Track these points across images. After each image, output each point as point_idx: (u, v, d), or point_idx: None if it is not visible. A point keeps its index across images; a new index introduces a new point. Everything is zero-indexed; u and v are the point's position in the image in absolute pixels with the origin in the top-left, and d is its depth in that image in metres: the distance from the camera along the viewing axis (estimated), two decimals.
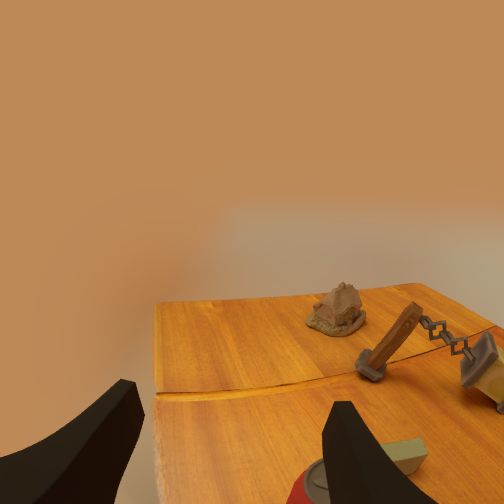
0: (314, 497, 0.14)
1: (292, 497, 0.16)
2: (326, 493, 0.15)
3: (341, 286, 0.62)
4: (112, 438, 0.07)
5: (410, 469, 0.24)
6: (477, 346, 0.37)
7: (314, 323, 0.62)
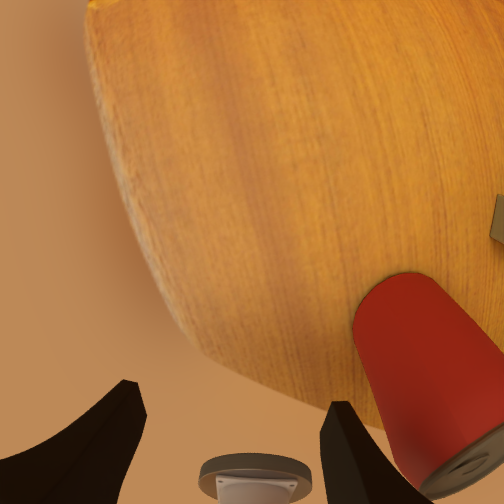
0: (425, 494, 0.06)
1: (401, 447, 0.08)
2: (448, 479, 0.06)
3: None
4: (115, 439, 0.07)
5: None
6: None
7: None
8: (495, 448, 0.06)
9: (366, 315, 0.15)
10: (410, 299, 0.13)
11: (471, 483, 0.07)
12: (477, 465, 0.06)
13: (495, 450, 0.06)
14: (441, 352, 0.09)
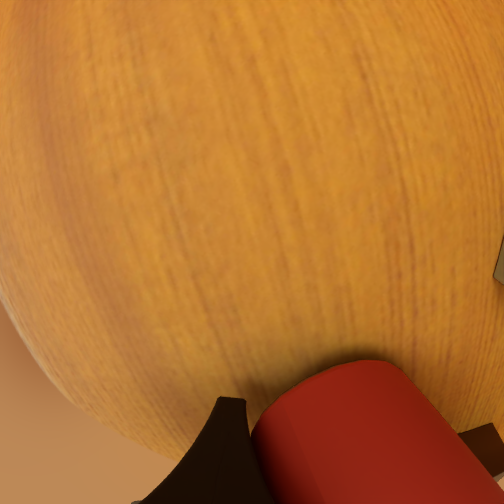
0: None
1: None
2: None
3: None
4: None
5: None
6: None
7: None
8: None
9: (266, 452, 0.07)
10: (351, 445, 0.06)
11: None
12: None
13: None
14: None
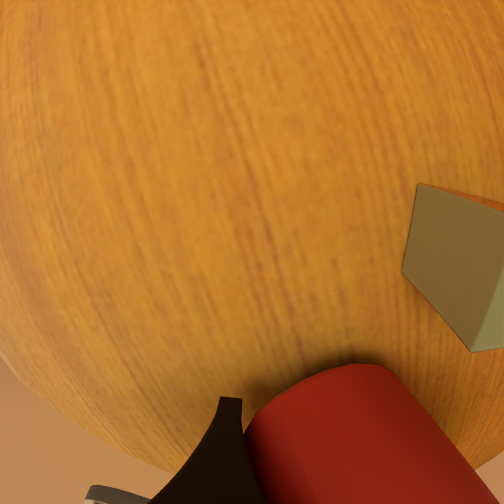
0: None
1: None
2: None
3: None
4: None
5: None
6: None
7: None
8: None
9: (259, 453, 0.07)
10: (345, 448, 0.06)
11: None
12: None
13: None
14: None
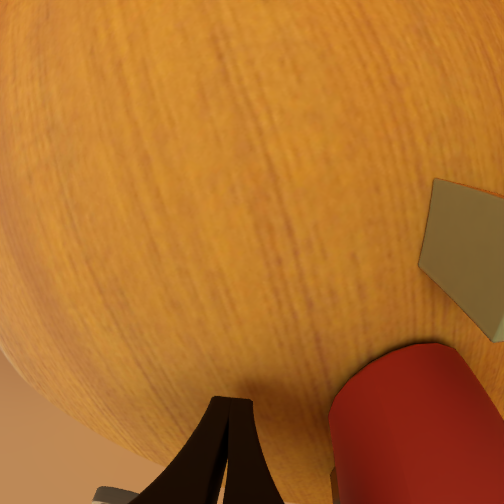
0: None
1: None
2: None
3: None
4: (220, 461, 0.07)
5: None
6: None
7: None
8: None
9: (348, 412, 0.09)
10: (423, 404, 0.07)
11: None
12: None
13: None
14: None
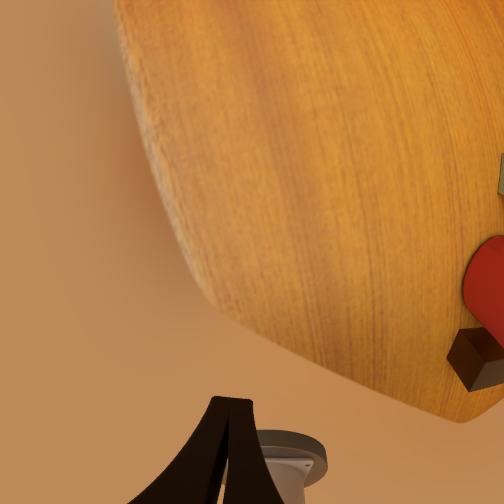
0: None
1: None
2: None
3: None
4: (220, 461, 0.07)
5: None
6: None
7: None
8: None
9: (482, 266, 0.15)
10: None
11: None
12: None
13: None
14: None
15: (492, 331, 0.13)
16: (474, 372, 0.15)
